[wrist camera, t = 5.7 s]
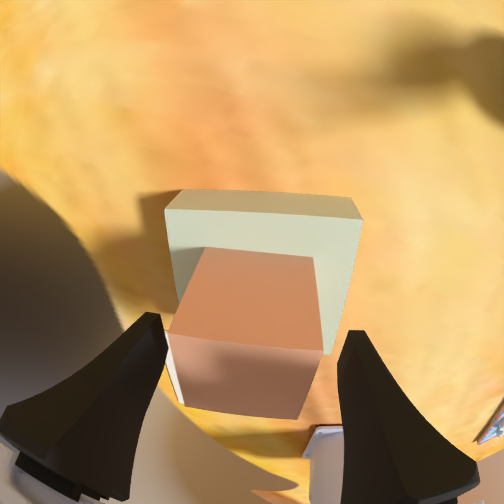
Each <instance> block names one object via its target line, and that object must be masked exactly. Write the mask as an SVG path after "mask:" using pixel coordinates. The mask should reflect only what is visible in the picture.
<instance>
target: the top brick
mask: <svg viewBox="0 0 504 504" xmlns="http://www.w3.org/2000/svg"><path fill="white" fill-rule="evenodd" d="M167 334H168V339H169V344H170V348H171V353H172V357H173V361H174V365H175V370H176V374H177V378H178V382H179V386H180V389H181V393H182V397H183V401H184V404H185V406H186V407H192V408H197V409H203V410H209V411H215V412H222V413H229V414H236V415H245V416H254V417H264V418H277V419H293V420H297V419H298V417H299V414H300V412H301V409H302V407H303V405H304V402H305V400H306V397H307V394H308V392H309V389H310V387H311V384H312V381H313V379H314V376H315V373H316V371H317V368H318V365H319V362H320V360H321V357H322V354H323V351H324V349H323V338H322V328H321V319H320V309H319V301H318V292H317V284H316V276H315V268H314V261H313V257H306V256H296V255H286V254H276V253H266V252H255V251H245V250H234V249H224V248H214V247H205V249H204V251H203V253H202V255H201V258H200V260H199V262H198V264H197V266H196V268H195V271H194V273H193V275H192V277H191V280H190V282H189V284H188V286H187V289H186V291H185V293H184V295H183V298H182V300H181V302H180V304H179V307H178V309H177V311H176V314H175V316H174V318H173V321H172V323H171V325H170V328H169V330H168V332H167Z"/></svg>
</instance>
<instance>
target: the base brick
mask: <svg viewBox="0 0 504 504" xmlns="http://www.w3.org/2000/svg"><path fill="white" fill-rule="evenodd" d="M164 213H165V221H166V228H167V236H168V243H169V249H170V256H171V263H172V269H173V275H174V281H175V287H176V292H177V298H178V303H179V304H180V302H181V300H182V298H183V295H184V293H185V291H186V289H187V286H188V284H189V282H190V280H191V277H192V275H193V273H194V271H195V268H196V266H197V264H198V262H199V260H200V258H201V255H202V253H203V251H204V249H205V247H214V248H224V249H234V250H245V251H255V252H266V253H276V254H286V255H296V256H306V257H313V261H314V268H315V276H316V284H317V292H318V301H319V309H320V319H321V328H322V338H323V349H324V351H323V354H331V351H332V348H333V344H334V341H335V337H336V334H337V330H338V327H339V323H340V320H341V316H342V312H343V309H344V305H345V301H346V297H347V293H348V289H349V285H350V281H351V276H352V272H353V268H354V263H355V259H356V254H357V249H358V244H359V239H360V234H361V229H362V224H363V218H362V217H361V215H360V213H359V211H358V209H357V207H356V206H355V204H354V202H353V200H352V198H348V197H337V196H325V195H312V194H298V193H282V192H263V191H240V190H204V189H182V191H181V192H180V193H179V194H178V195H177V196H176V197H175V198H174V199H173V200H172V201H171V202H170V203H169V204H168V205H167V206H166V208H165V209H164Z"/></svg>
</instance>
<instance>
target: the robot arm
mask: <svg viewBox="0 0 504 504" xmlns="http://www.w3.org/2000/svg"><path fill="white" fill-rule="evenodd" d="M168 349H169V347H168V343H167V339H166V336H165V332H164V328H163V324H162V320H161V316H160V314H157V313H151V312H145V313H144V314H143V315H142V316H141V317H140V318H139V319H138V320H137V321H136V322H135V323H133V324H132V325H131V326H130V327H129V328H128V329H127V330H126V331H125V332H124V333H123V334H122V335H121V336H120V337H119V338H118V339H116V341H114V342H113V343H112V344H111V345H110V346H109V347H108V348H106V349H105V350H104V351H103V352H102V353H101V354H99V355H98V356H97V357H96V358H95V359H93V360H92V361H91V362H90V363H88V364H87V365H86V366H84V367H83V368H82V369H80V370H79V371H77V372H76V373H75V374H73V375H72V376H70V377H69V378H67V379H65V380H64V381H62V382H60V383H58V384H57V385H55V386H53V387H52V388H50V389H48V390H46V391H44V392H42V393H40V394H38V395H35V396H33V397H31V398H29V399H26V400H23V401H21V402H18V403H15V404H12V405H9V406H7V407H6V409H5V411H4V413H3V415H2V416H1V418H0V435H1V436H2V437H3V438H4V439H5V440H7V441H8V442H9V443H10V444H12V445H13V446H14V447H15V448H17V449H18V450H19V451H20V453H19V456H18V455H17V454H15V453H14V452H12V451H11V450H10V449H8V448H7V447H6V446H4V445H3V444H1V443H0V501H1V502H2V503H3V504H104V503H102V502H100V501H99V500H100V497H101V498H103V499H106V500H109V498H110V497H111V498H114V499H116V500H119V501H121V502H122V501H126V500H128V499H129V494H130V484H131V475H132V469H133V463H134V457H135V452H136V447H137V443H138V438H139V434H140V431H141V427H142V423H143V420H144V416H145V413H146V411H147V408H148V406H149V404H150V401H151V399H152V396H153V393H154V391H155V389H156V386H157V384H158V381H159V379H160V376H161V374H162V371H163V368H164V365H165V361H166V357H167V353H168ZM337 382H338V394H339V402H340V410H341V418H342V426H319V427H317V428H316V429H315V431H314V433H313V435H312V437H311V439H310V441H309V443H308V445H307V447H306V449H305V451H304V453H303V454H302V458H305V459H310V484H309V500H310V503H311V504H457V503H458V501H457V497H458V496H460V495H461V494H464V493H465V492H467V491H469V490H471V489H473V488H475V487H476V486H477V485H479V483H480V477H479V472H478V467H477V464H476V461H474V460H473V459H471V458H470V457H469V456H467V455H466V454H464V453H463V452H461V451H460V450H459V449H457V448H456V447H455V446H454V445H452V444H451V443H450V442H449V441H448V440H447V439H445V438H444V437H443V436H442V435H441V434H440V433H439V432H438V431H437V430H436V429H435V428H434V427H433V426H432V425H431V424H430V423H429V422H428V421H427V420H426V419H425V418H424V417H423V416H422V415H421V413H420V412H419V411H418V410H417V409H416V407H415V406H414V405H413V404H412V403H411V401H410V400H409V399H408V397H407V396H406V395H405V393H404V392H403V391H402V389H401V388H400V386H399V385H398V384H397V382H396V381H395V379H394V378H393V376H392V375H391V373H390V372H389V370H388V369H387V367H386V365H385V364H384V362H383V361H382V359H381V357H380V356H379V354H378V352H377V351H376V349H375V347H374V346H373V344H372V342H371V341H370V339H369V337H368V336H367V334H366V332H365V331H364V330H349V331H348V334H347V337H346V340H345V343H344V346H343V349H342V352H341V354H340V357H339V360H338V363H337ZM473 504H484V500H480V501H478V502H476V503H473Z"/></svg>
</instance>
